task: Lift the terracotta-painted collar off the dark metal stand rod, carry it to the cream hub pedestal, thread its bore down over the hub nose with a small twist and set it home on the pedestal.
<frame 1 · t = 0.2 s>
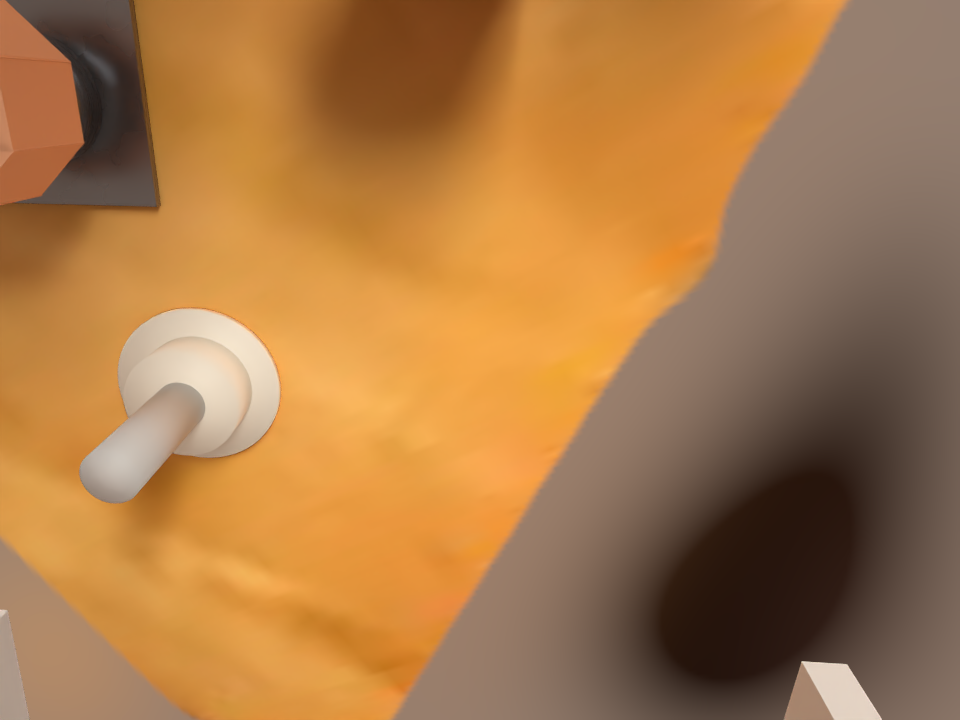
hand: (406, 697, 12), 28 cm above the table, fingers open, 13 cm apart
stand: (45, 100, 35), on the table
hub: (202, 383, 40), on the table
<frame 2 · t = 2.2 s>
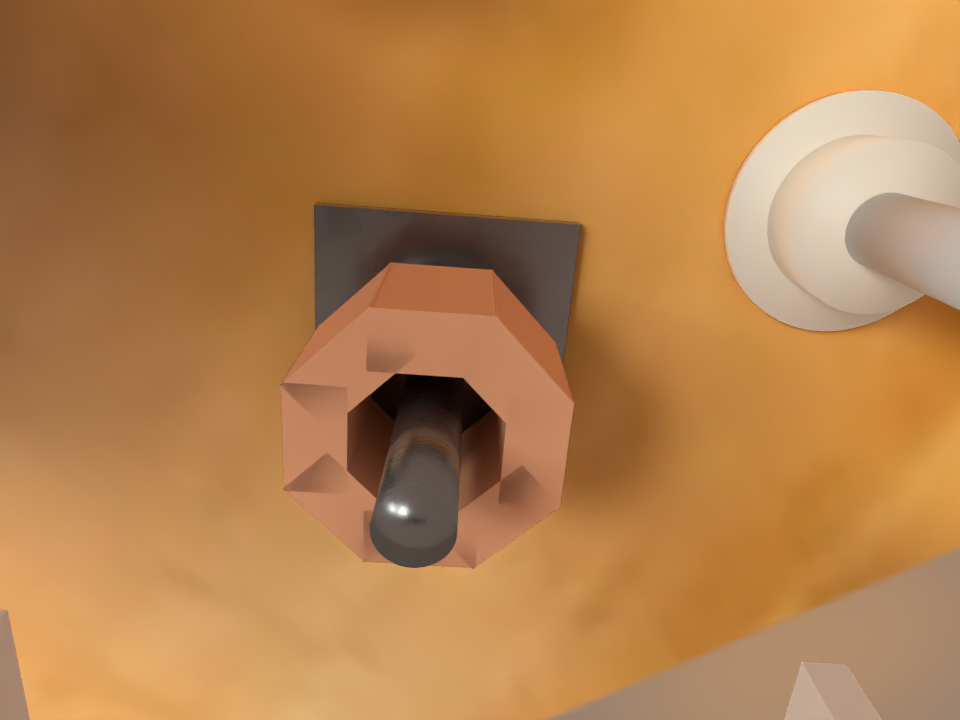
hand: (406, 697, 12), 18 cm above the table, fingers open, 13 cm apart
stand: (441, 336, 29), on the table
hub: (841, 215, 27), on the table
collar: (435, 378, 24), point 4 cm above the table, touching stand
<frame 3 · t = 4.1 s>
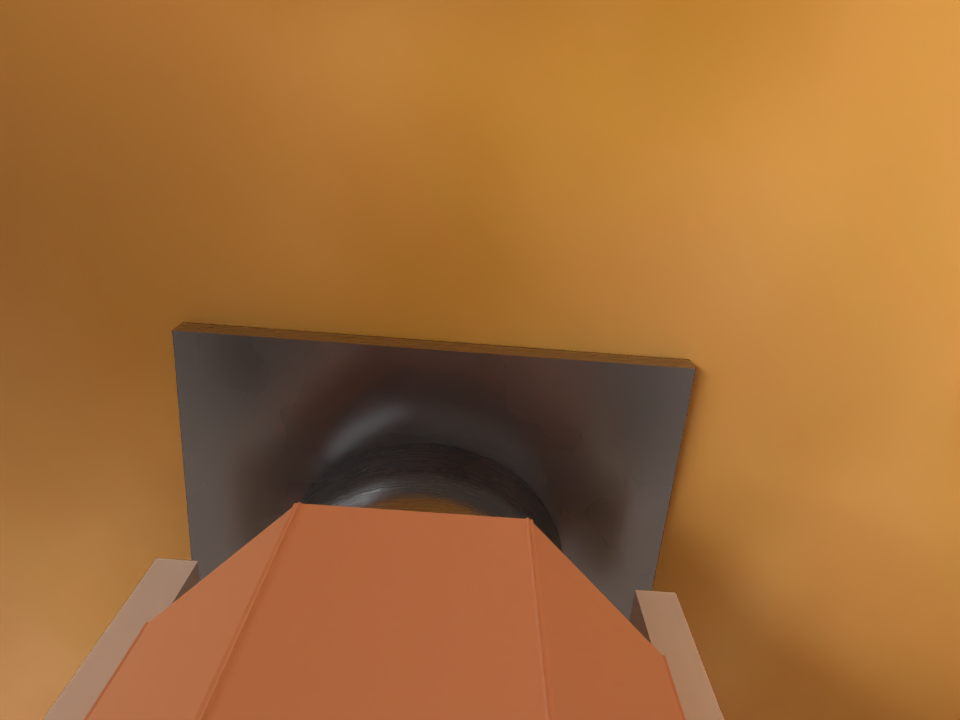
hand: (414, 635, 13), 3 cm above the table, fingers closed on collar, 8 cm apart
stand: (425, 552, 16), on the table
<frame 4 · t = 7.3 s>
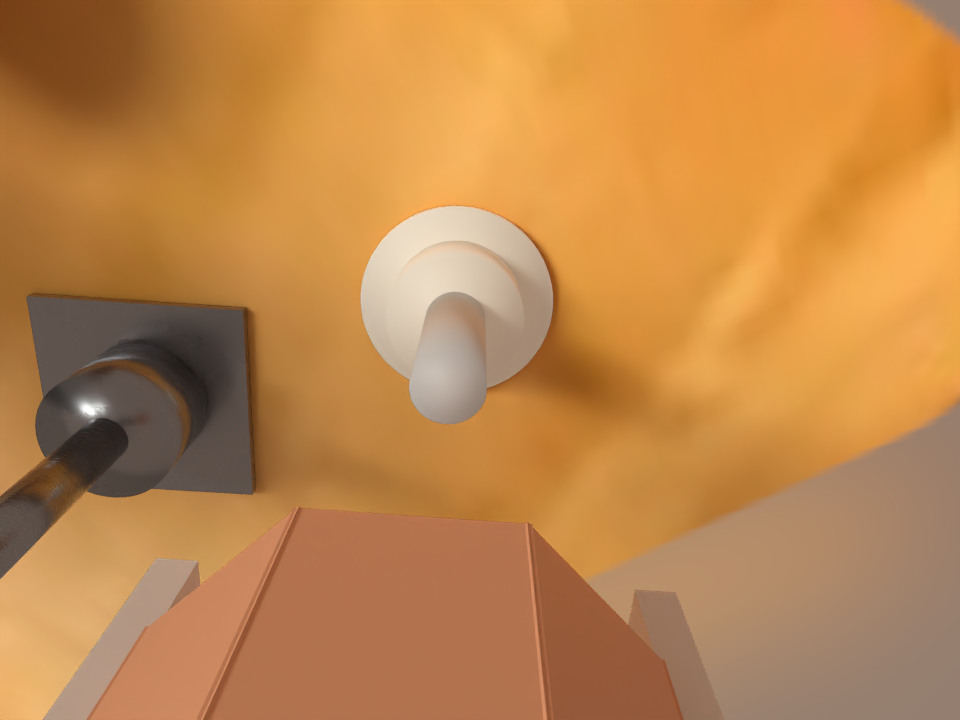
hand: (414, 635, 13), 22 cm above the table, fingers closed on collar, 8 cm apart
stand: (150, 396, 35), on the table
hub: (457, 301, 33), on the table
when the fingers open (3 cm above the table, at t = 10.7 s): collar drops 1 cm, resting on hub.
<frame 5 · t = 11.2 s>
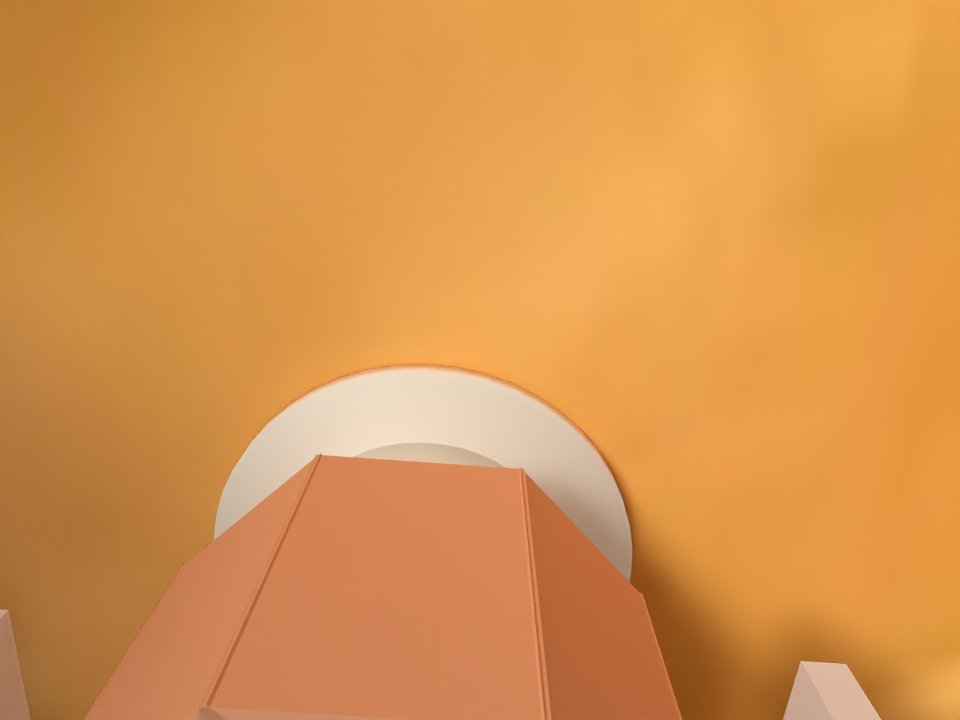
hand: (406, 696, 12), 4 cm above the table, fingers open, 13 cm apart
hub: (425, 552, 16), on the table
collar: (410, 654, 13), point 3 cm above the table, touching hub
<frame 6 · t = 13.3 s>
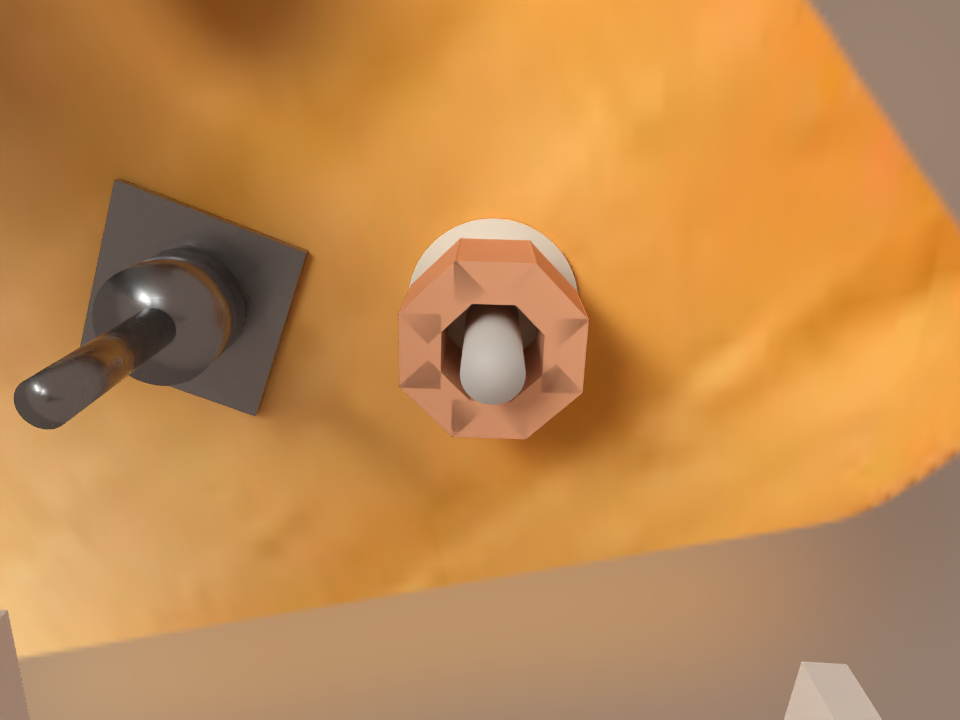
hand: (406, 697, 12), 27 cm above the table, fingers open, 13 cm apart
stand: (192, 302, 38), on the table
hub: (492, 302, 38), on the table
collar: (492, 319, 35), point 3 cm above the table, touching hub
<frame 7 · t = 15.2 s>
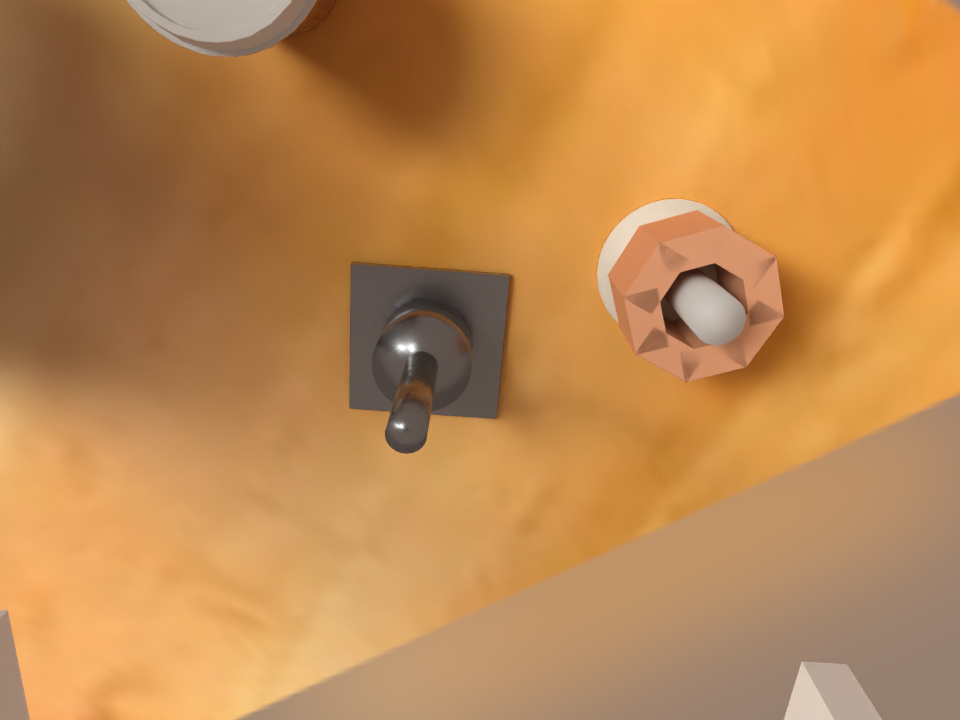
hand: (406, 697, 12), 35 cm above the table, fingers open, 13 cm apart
stand: (427, 342, 46), on the table
hub: (667, 270, 45), on the table
collar: (679, 283, 42), point 3 cm above the table, touching hub
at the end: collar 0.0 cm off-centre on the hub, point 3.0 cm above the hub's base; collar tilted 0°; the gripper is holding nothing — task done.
